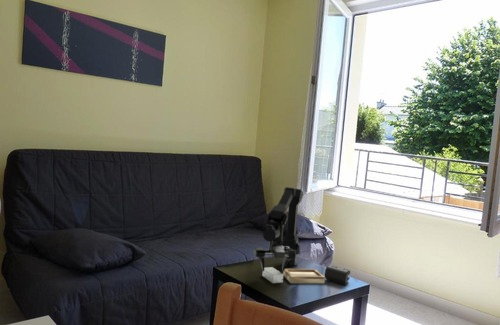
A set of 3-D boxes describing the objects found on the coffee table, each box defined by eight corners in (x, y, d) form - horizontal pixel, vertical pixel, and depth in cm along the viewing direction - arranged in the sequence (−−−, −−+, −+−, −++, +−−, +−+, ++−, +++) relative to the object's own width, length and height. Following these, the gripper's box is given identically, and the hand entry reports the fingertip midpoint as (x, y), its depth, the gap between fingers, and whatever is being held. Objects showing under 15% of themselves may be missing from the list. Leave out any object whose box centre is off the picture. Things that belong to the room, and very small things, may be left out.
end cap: (323, 281, 180) (325, 267, 180) (329, 277, 186) (330, 263, 186) (344, 287, 175) (346, 272, 174) (349, 283, 180) (351, 269, 180)
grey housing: (262, 276, 180) (262, 267, 180) (271, 275, 183) (272, 267, 182) (272, 283, 171) (273, 274, 171) (282, 282, 174) (283, 274, 173)
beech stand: (283, 274, 184) (283, 268, 184) (314, 275, 188) (315, 268, 188) (290, 283, 173) (291, 276, 173) (324, 283, 177) (324, 276, 177)
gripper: (260, 241, 166) (257, 277, 167) (301, 242, 171) (298, 277, 171) (254, 234, 177) (251, 268, 178) (293, 236, 181) (290, 269, 182)
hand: (273, 271), depth 177 cm, fingers open, 9 cm apart
